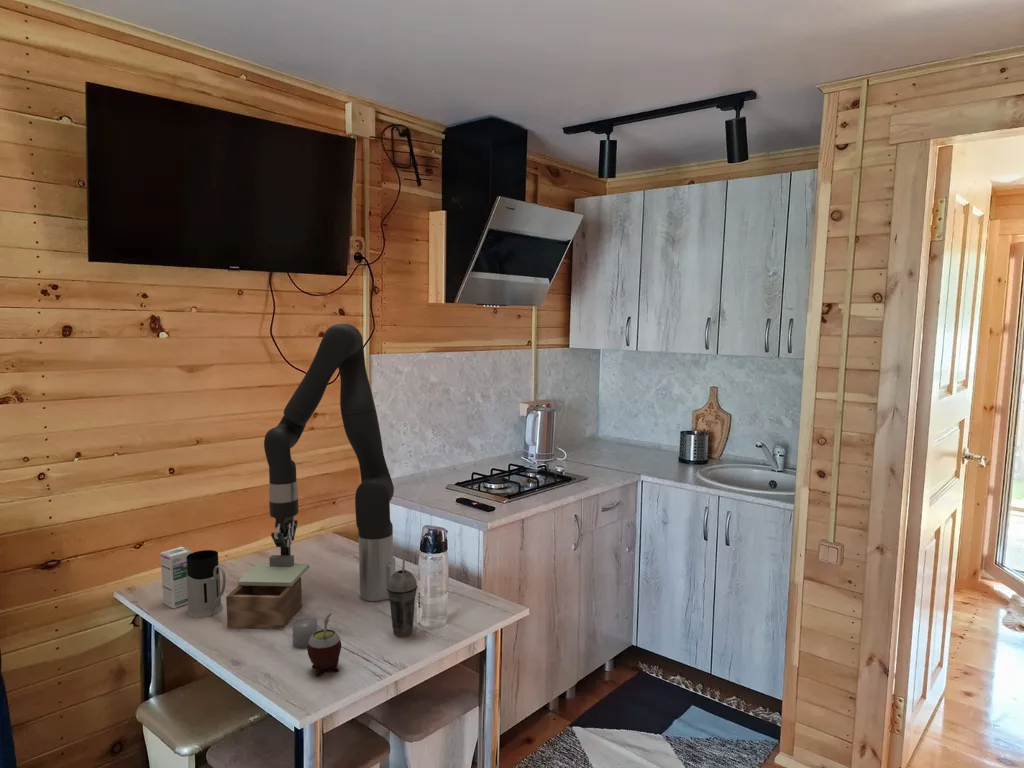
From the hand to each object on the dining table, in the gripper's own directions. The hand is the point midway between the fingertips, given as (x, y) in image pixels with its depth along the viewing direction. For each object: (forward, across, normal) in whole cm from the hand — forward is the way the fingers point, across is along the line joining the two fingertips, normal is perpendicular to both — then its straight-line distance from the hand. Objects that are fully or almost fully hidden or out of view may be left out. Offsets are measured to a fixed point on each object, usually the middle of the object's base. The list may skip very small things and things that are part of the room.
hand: (285, 559), depth 187 cm
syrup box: (+10, -7, +27) cm, 30 cm away
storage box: (+10, -14, 0) cm, 17 cm away
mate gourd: (+10, -39, -24) cm, 47 cm away
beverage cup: (+10, -21, -37) cm, 44 cm away
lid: (+2, -8, 0) cm, 8 cm away
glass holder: (+10, -13, +15) cm, 22 cm away
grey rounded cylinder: (+10, -27, -15) cm, 33 cm away
